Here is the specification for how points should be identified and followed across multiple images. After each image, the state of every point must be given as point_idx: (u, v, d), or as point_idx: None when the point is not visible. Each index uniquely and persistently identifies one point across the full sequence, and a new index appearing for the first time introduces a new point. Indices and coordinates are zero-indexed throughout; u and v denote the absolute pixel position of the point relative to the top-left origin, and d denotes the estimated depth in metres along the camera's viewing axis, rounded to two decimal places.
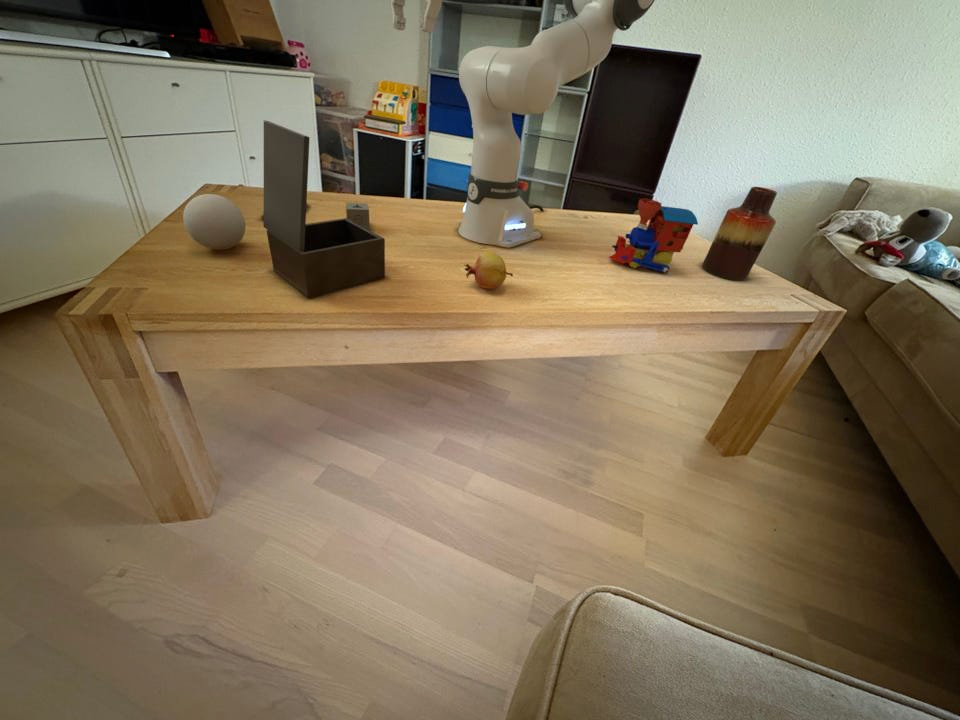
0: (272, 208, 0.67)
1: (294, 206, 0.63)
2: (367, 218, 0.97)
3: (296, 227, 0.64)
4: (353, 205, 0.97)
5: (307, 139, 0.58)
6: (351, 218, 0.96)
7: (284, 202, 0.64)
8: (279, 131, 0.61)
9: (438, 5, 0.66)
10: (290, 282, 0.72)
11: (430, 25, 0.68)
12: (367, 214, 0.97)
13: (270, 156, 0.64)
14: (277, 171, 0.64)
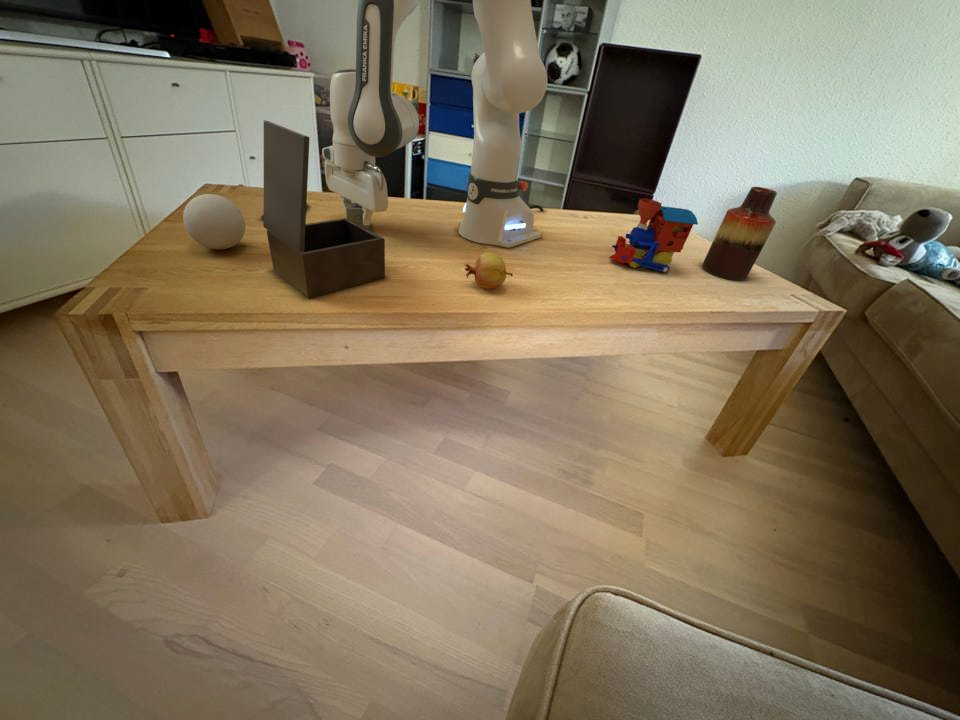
0: (272, 208, 0.67)
1: (294, 206, 0.63)
2: None
3: (296, 227, 0.64)
4: (353, 205, 0.97)
5: (307, 139, 0.58)
6: (351, 218, 0.96)
7: (284, 202, 0.64)
8: (279, 131, 0.61)
9: (371, 211, 0.95)
10: (290, 282, 0.72)
11: (367, 221, 0.97)
12: None
13: (270, 156, 0.64)
14: (277, 171, 0.64)
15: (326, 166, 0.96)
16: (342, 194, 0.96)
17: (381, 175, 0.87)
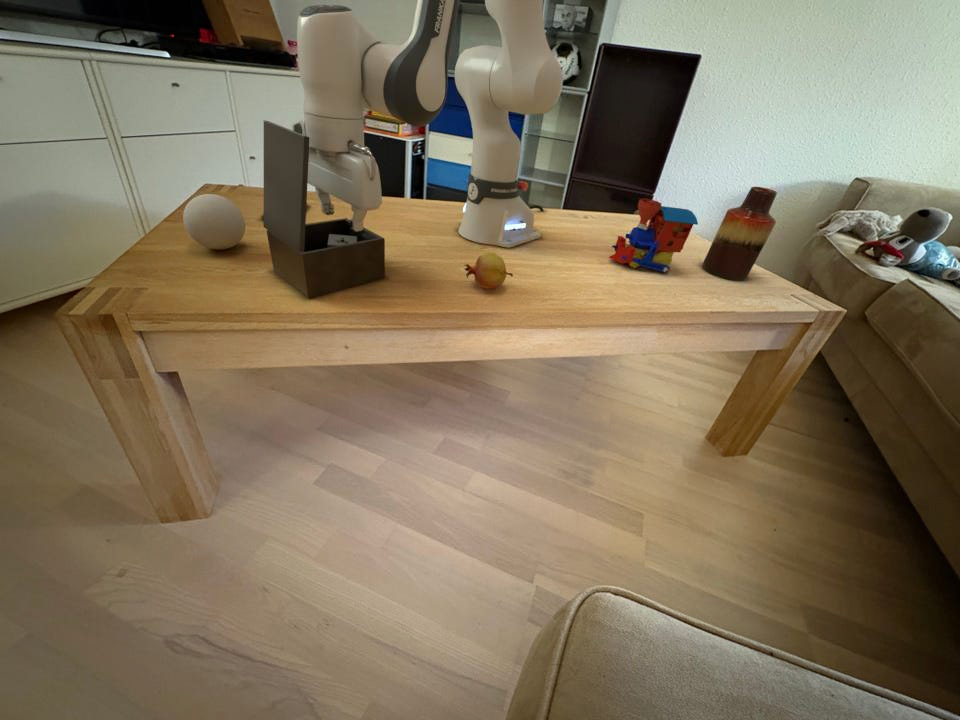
0: (272, 208, 0.67)
1: (294, 206, 0.63)
2: None
3: (296, 227, 0.64)
4: (338, 239, 0.77)
5: (307, 139, 0.58)
6: None
7: (284, 202, 0.64)
8: (279, 131, 0.61)
9: (364, 211, 0.69)
10: (290, 282, 0.72)
11: (359, 225, 0.71)
12: None
13: (270, 156, 0.64)
14: (277, 171, 0.64)
15: None
16: (320, 187, 0.72)
17: (371, 159, 0.62)
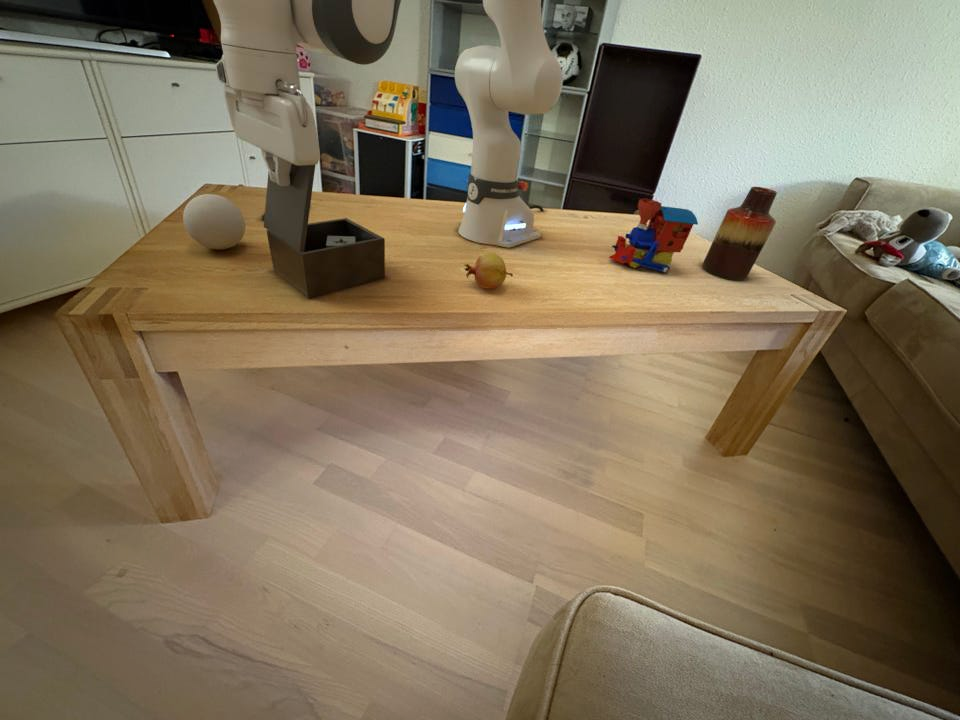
0: (274, 208, 0.68)
1: (298, 206, 0.63)
2: None
3: (298, 227, 0.64)
4: (336, 239, 0.77)
5: None
6: None
7: (287, 202, 0.65)
8: None
9: (288, 162, 0.61)
10: (290, 282, 0.72)
11: (284, 180, 0.63)
12: None
13: None
14: None
15: (226, 96, 0.60)
16: (253, 141, 0.61)
17: (301, 99, 0.51)
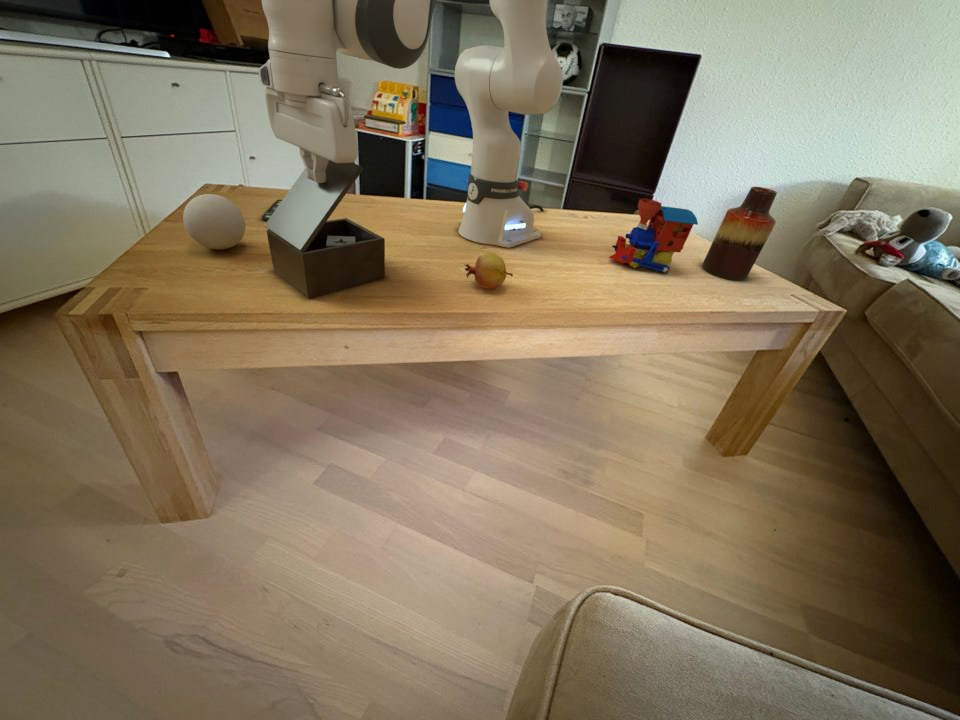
0: (286, 211, 0.69)
1: (317, 213, 0.66)
2: None
3: (308, 230, 0.65)
4: (336, 239, 0.77)
5: (361, 169, 0.65)
6: None
7: (305, 209, 0.67)
8: None
9: (325, 160, 0.64)
10: (290, 282, 0.72)
11: (321, 177, 0.66)
12: None
13: None
14: (311, 185, 0.69)
15: (266, 98, 0.64)
16: (292, 141, 0.65)
17: (344, 101, 0.55)
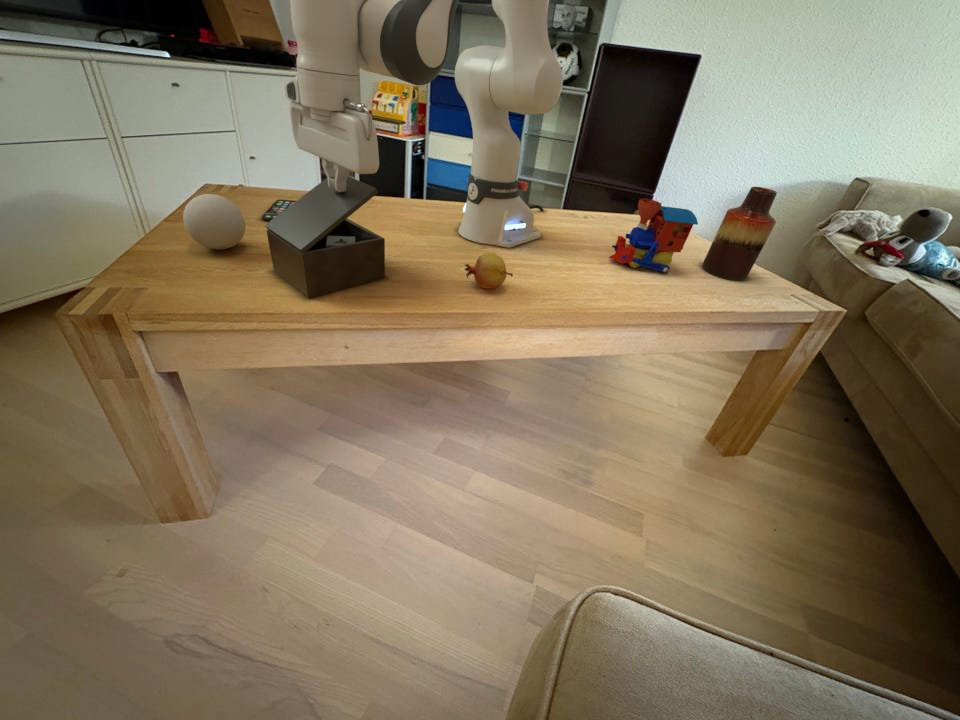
0: (291, 216, 0.70)
1: (325, 221, 0.67)
2: None
3: (313, 233, 0.66)
4: (336, 239, 0.77)
5: (376, 192, 0.69)
6: None
7: (313, 216, 0.69)
8: (349, 179, 0.73)
9: (346, 170, 0.68)
10: (290, 282, 0.72)
11: (342, 186, 0.70)
12: None
13: (323, 189, 0.73)
14: (323, 197, 0.71)
15: (291, 111, 0.68)
16: (315, 152, 0.68)
17: (368, 116, 0.58)
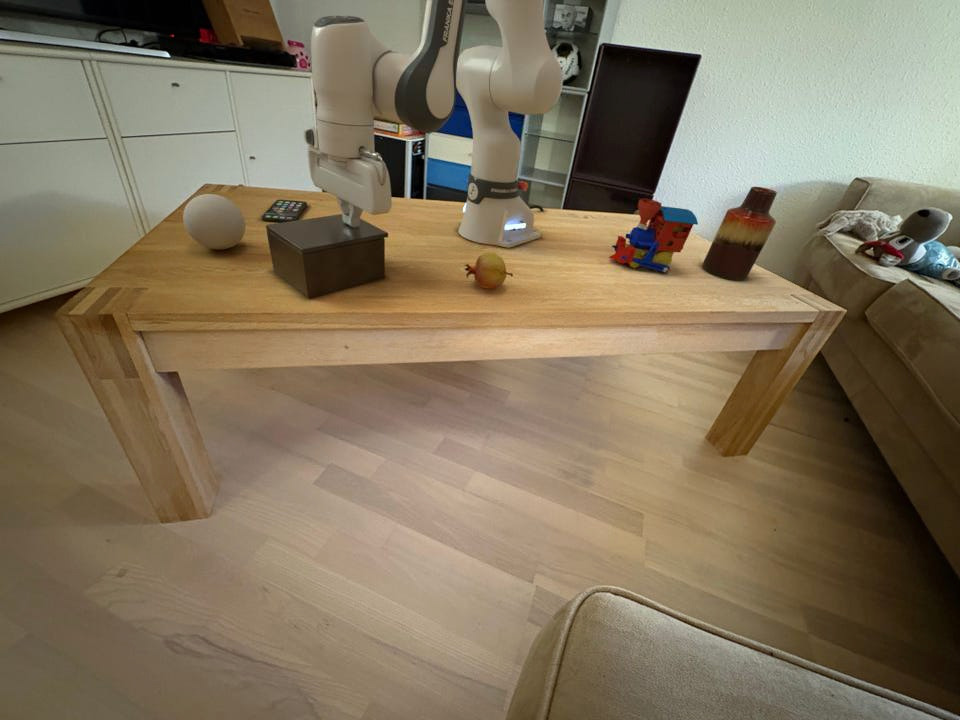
0: (297, 226, 0.72)
1: (332, 238, 0.70)
2: None
3: (317, 242, 0.67)
4: None
5: (386, 235, 0.75)
6: None
7: (320, 232, 0.71)
8: (362, 221, 0.78)
9: (360, 208, 0.73)
10: (290, 282, 0.72)
11: (356, 222, 0.75)
12: None
13: (334, 219, 0.77)
14: (333, 224, 0.75)
15: (309, 154, 0.73)
16: (331, 191, 0.73)
17: (382, 165, 0.63)
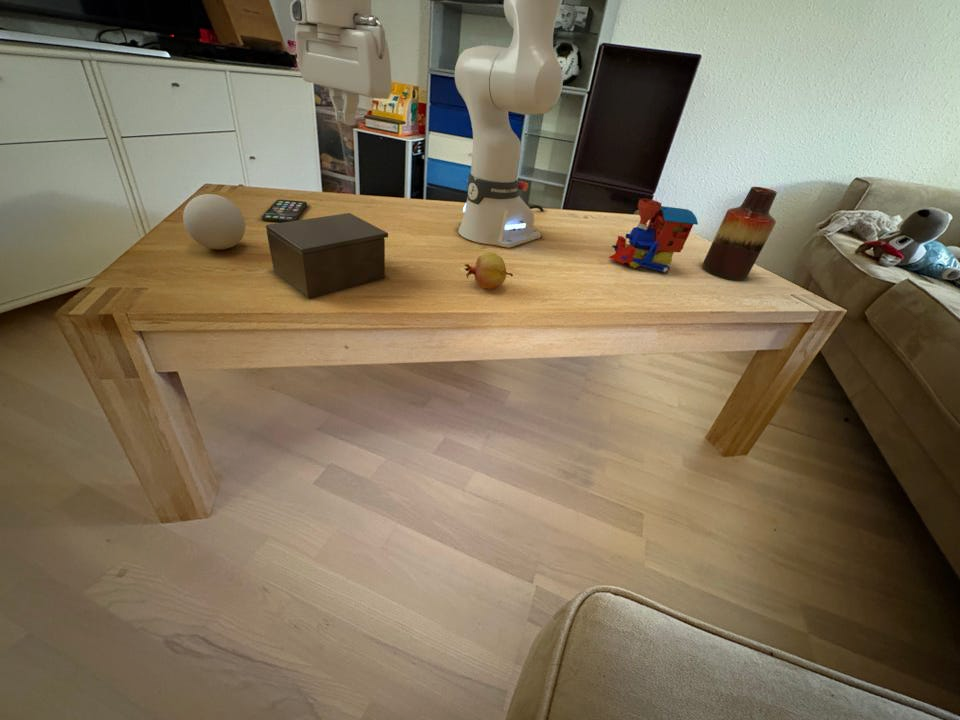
0: (297, 227, 0.72)
1: (332, 238, 0.70)
2: None
3: (317, 242, 0.67)
4: None
5: (386, 235, 0.75)
6: None
7: (320, 232, 0.71)
8: (362, 221, 0.78)
9: (356, 100, 0.63)
10: (290, 282, 0.72)
11: (350, 119, 0.65)
12: None
13: (334, 219, 0.77)
14: (333, 224, 0.75)
15: (297, 37, 0.63)
16: (322, 81, 0.64)
17: (381, 29, 0.54)
